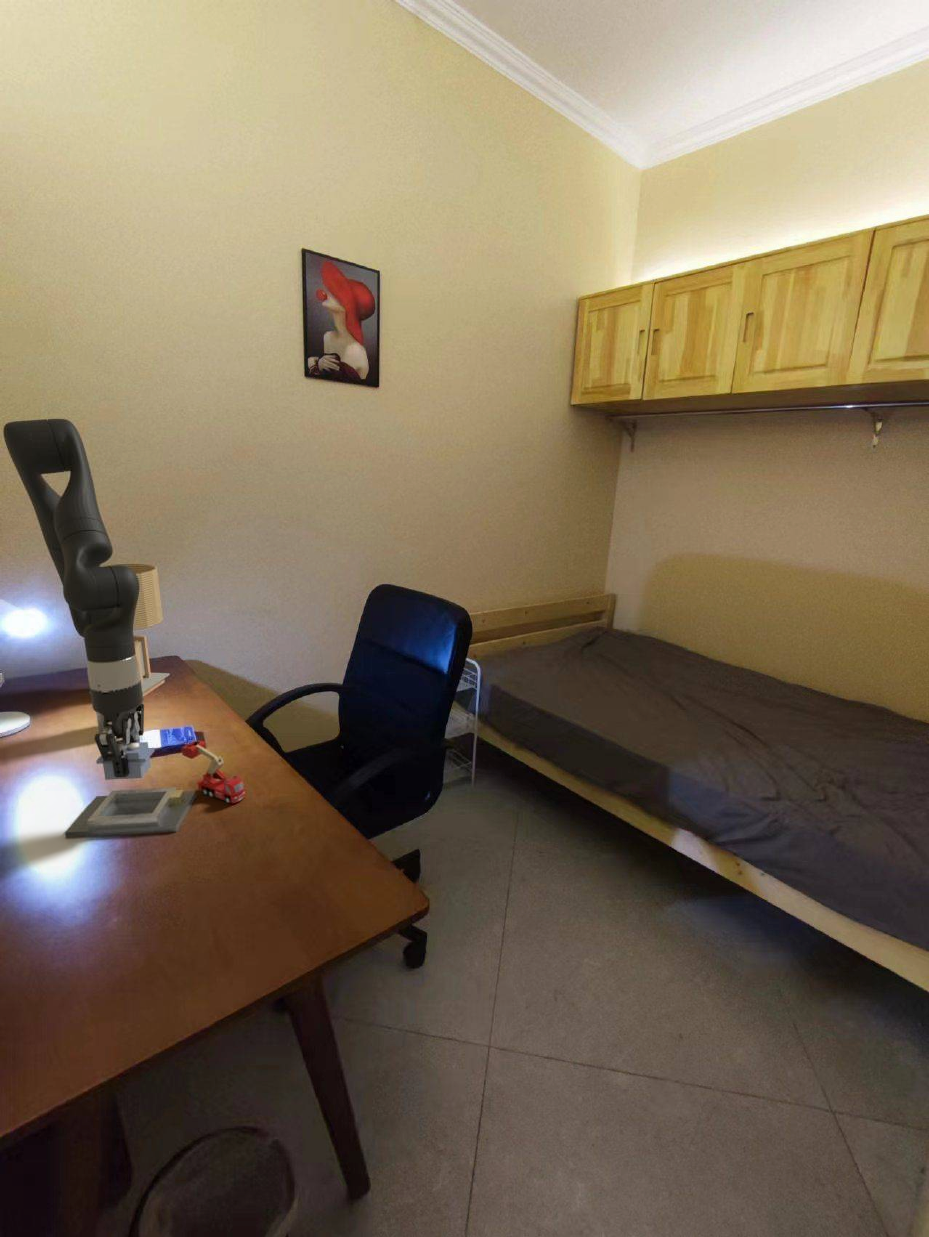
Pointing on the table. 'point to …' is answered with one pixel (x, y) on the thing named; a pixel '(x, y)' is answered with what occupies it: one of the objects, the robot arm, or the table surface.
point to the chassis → (133, 813)
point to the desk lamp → (146, 621)
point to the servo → (131, 761)
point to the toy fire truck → (215, 775)
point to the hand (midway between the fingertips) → (127, 768)
